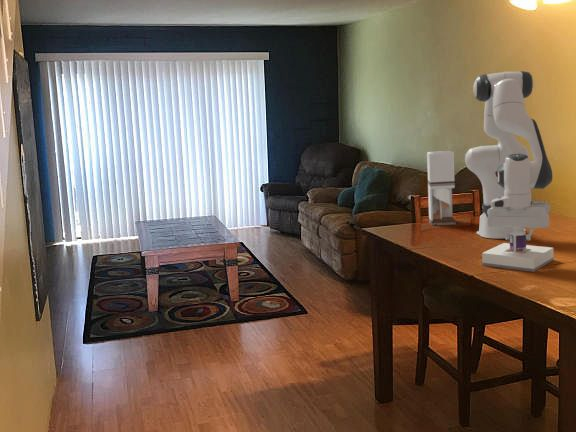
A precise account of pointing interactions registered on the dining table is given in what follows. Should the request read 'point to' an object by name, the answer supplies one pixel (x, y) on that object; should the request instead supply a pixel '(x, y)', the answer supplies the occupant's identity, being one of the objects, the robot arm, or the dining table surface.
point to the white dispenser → (440, 187)
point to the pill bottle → (518, 240)
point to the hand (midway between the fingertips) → (517, 239)
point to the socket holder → (518, 257)
